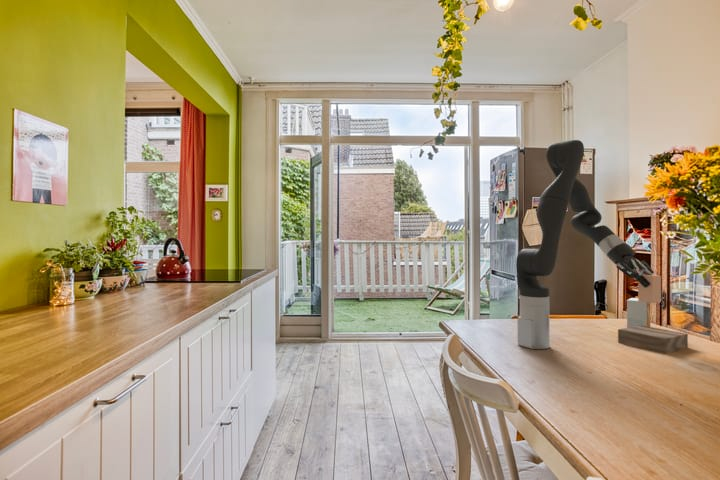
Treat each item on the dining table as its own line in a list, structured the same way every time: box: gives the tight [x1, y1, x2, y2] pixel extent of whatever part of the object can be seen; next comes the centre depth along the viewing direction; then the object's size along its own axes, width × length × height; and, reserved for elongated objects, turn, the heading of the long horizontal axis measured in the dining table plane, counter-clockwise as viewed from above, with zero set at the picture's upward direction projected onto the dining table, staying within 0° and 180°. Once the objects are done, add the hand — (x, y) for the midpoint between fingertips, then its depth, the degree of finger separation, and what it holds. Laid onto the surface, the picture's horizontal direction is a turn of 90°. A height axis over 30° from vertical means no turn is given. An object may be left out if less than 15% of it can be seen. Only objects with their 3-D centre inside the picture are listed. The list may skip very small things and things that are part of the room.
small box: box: [626, 297, 651, 328], centre depth 140 cm, size 8×6×13 cm
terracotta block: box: [637, 274, 662, 304], centre depth 125 cm, size 4×4×9 cm
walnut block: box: [617, 325, 689, 355], centre depth 125 cm, size 14×14×5 cm
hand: (652, 285), depth 124 cm, fingers closed on terracotta block, 4 cm apart
